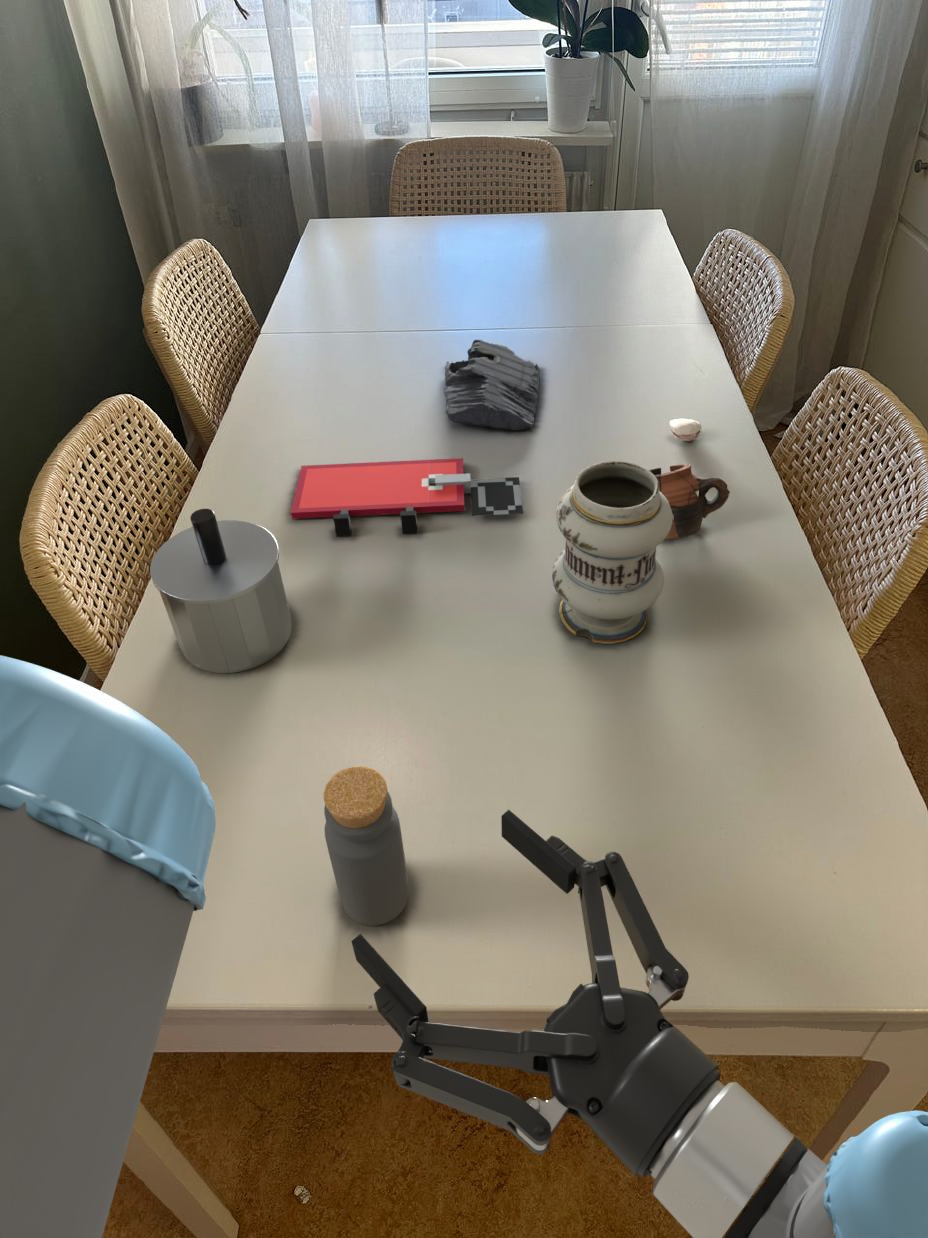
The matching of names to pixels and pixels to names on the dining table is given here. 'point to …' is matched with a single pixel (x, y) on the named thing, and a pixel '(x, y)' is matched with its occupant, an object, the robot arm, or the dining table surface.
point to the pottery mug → (689, 498)
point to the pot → (233, 628)
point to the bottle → (365, 846)
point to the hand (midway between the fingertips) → (435, 881)
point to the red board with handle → (399, 491)
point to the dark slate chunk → (492, 388)
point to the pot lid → (214, 560)
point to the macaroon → (685, 429)
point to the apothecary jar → (610, 550)
